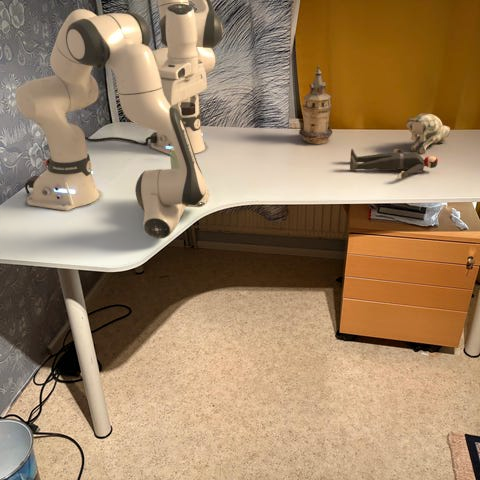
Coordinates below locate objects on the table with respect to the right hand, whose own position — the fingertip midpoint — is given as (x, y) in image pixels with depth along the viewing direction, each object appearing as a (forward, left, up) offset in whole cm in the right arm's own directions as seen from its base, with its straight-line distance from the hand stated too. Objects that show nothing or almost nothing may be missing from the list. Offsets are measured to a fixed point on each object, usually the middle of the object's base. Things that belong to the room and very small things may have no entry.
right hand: (185, 112), depth 162 cm
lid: (0, 0, +2) cm, 2 cm away
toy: (+47, +56, -27) cm, 78 cm away
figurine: (+50, +85, -27) cm, 102 cm away
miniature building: (+9, +70, -27) cm, 75 cm away
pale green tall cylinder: (+1, -6, -27) cm, 28 cm away
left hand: (+1, -6, -22) cm, 22 cm away
